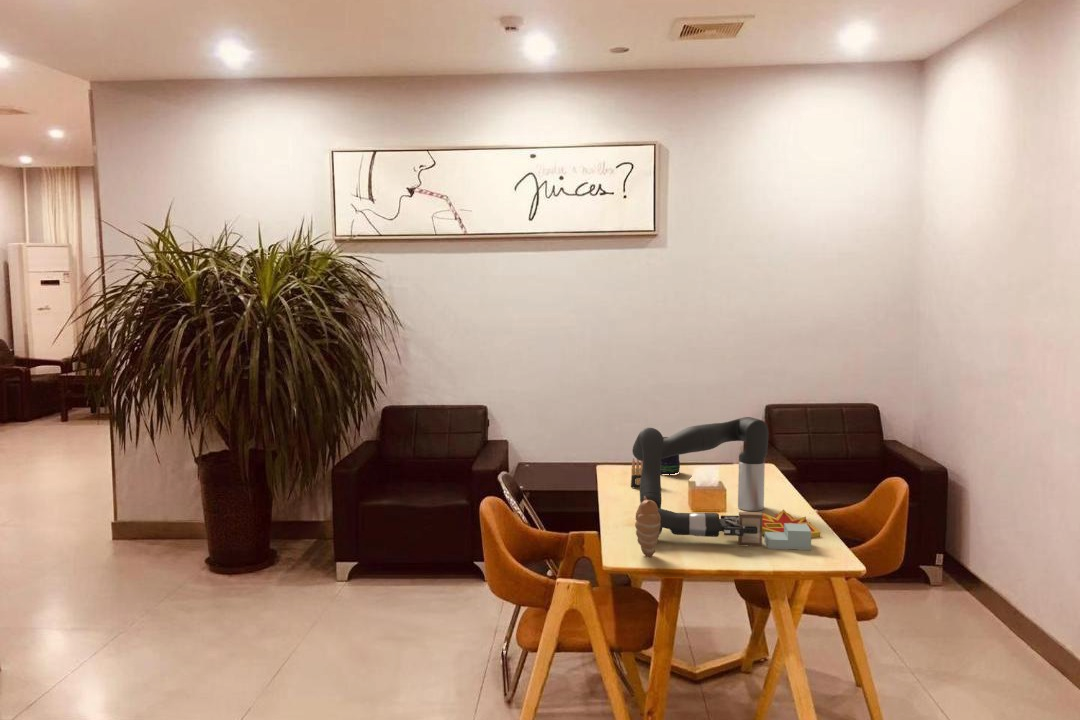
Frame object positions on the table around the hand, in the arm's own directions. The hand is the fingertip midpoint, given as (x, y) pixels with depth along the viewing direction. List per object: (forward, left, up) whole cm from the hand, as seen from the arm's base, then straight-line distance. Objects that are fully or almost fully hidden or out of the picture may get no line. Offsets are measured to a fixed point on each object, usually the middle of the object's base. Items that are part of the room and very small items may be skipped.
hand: (755, 526), depth 271 cm
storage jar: (-95, -26, -6) cm, 99 cm away
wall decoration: (-21, +12, -7) cm, 25 cm away
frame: (0, -2, -6) cm, 6 cm away
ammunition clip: (-70, -36, -6) cm, 79 cm away
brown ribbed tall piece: (+15, -34, -6) cm, 37 cm away
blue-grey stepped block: (0, +9, -6) cm, 11 cm away
